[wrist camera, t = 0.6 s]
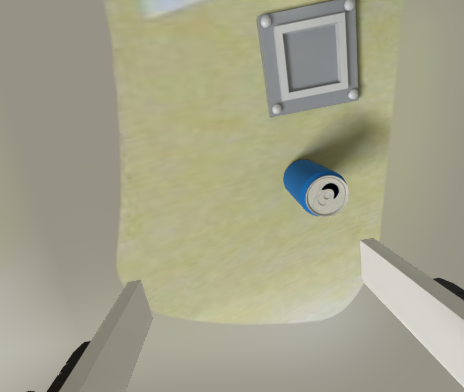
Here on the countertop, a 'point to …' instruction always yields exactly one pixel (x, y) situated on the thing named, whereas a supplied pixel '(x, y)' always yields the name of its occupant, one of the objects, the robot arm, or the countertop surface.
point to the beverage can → (316, 188)
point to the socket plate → (309, 56)
